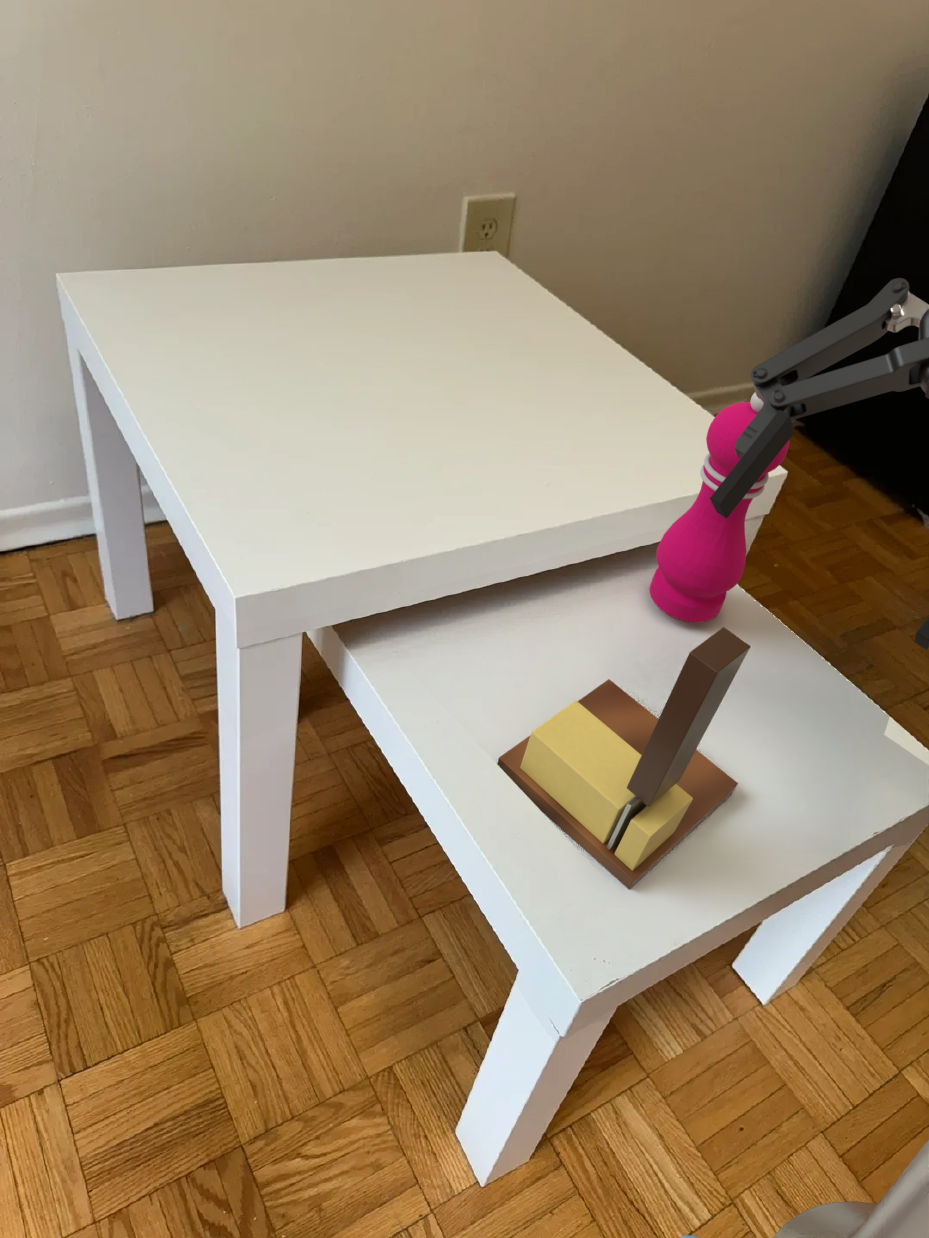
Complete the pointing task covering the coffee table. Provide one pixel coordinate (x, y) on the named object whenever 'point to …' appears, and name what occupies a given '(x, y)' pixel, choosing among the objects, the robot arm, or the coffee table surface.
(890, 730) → the coffee table surface
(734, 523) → the pepper mill
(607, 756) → the butter
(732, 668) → the knife
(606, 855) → the board
